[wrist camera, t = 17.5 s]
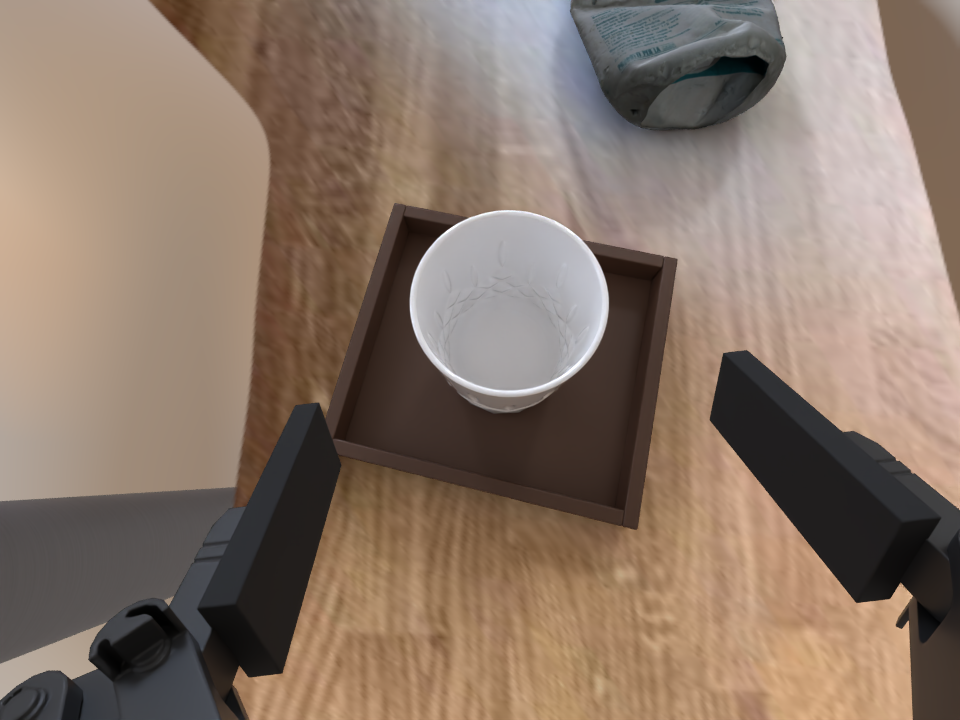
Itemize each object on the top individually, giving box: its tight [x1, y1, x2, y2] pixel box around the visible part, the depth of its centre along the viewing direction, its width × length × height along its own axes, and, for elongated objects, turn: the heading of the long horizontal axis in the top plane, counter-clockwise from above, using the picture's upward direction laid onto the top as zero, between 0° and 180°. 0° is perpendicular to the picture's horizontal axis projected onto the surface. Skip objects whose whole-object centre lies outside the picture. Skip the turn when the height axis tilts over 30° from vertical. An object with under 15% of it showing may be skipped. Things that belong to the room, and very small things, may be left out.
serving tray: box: [325, 203, 677, 530], centre depth 27 cm, size 18×16×2 cm
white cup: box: [410, 210, 609, 414], centre depth 23 cm, size 8×8×10 cm
